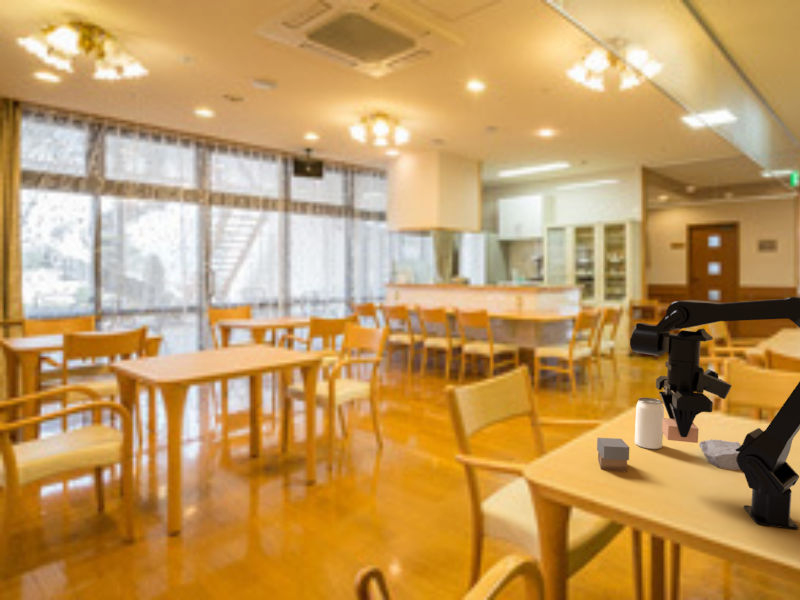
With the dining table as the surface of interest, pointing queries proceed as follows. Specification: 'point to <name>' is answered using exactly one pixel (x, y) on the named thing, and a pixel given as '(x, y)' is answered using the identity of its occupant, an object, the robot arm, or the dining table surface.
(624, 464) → the walnut block
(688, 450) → the dining table surface
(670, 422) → the terracotta block
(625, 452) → the gray block
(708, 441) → the stone block
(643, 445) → the can
